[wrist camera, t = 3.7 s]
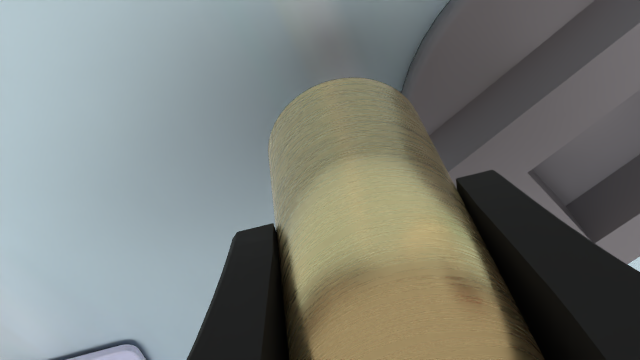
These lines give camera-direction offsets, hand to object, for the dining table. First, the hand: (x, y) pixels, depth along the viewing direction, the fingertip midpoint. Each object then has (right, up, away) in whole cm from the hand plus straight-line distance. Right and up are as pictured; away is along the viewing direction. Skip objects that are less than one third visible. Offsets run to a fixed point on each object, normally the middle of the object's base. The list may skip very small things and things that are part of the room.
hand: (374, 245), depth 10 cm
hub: (+8, +3, +10) cm, 13 cm away
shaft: (0, +1, +2) cm, 2 cm away
